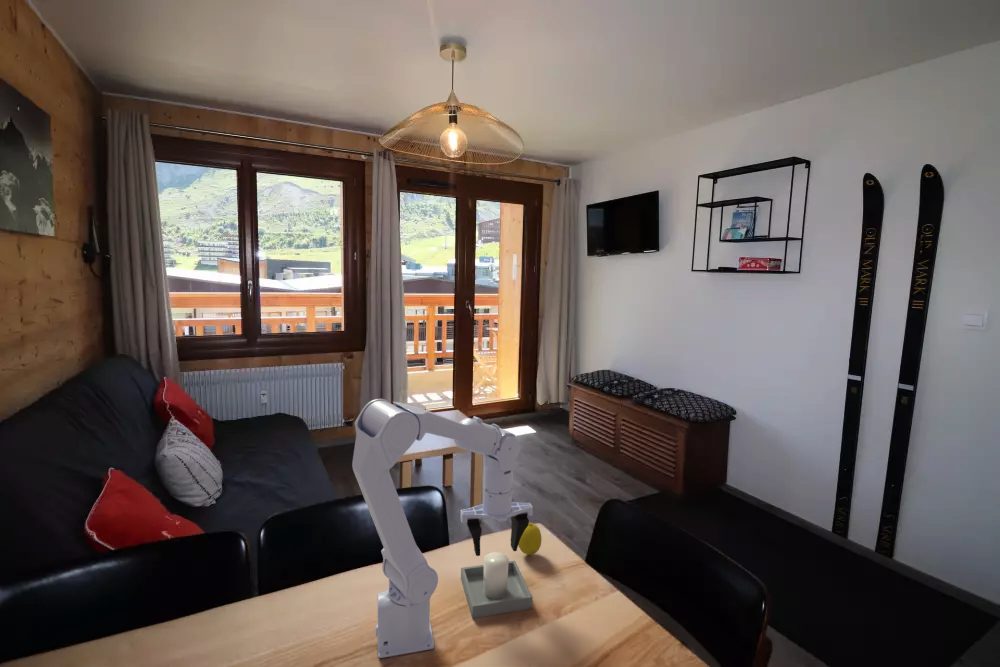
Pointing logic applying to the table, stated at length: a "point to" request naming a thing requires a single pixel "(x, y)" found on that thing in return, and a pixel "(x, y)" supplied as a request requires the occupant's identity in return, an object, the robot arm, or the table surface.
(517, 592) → the tray
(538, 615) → the table surface
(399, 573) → the robot arm
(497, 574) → the capsule
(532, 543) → the lemon
